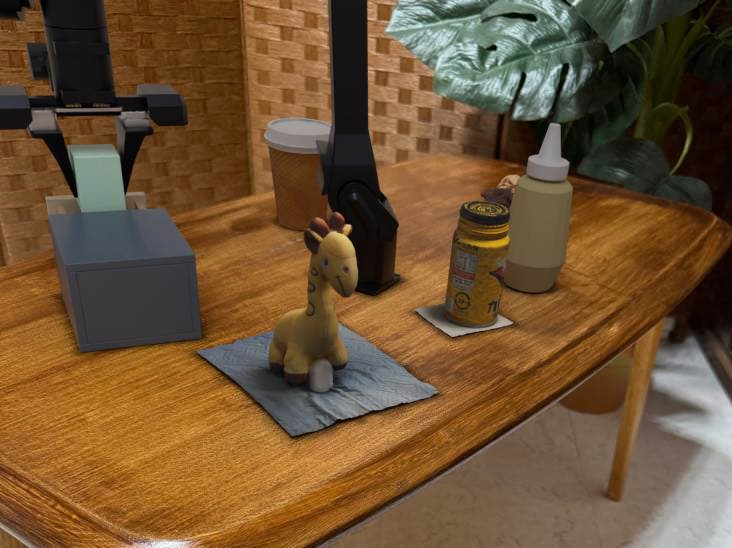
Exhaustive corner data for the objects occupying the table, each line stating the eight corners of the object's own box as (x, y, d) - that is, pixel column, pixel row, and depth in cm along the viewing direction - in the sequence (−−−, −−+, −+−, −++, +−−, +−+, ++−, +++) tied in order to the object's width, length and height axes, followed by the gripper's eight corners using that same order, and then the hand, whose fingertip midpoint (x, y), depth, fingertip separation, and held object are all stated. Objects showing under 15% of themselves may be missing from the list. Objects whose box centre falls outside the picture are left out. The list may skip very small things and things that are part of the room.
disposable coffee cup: (350, 222, 115) (354, 127, 108) (307, 240, 109) (308, 140, 101) (295, 206, 119) (295, 113, 111) (251, 222, 112) (247, 124, 105)
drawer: (51, 243, 99) (40, 183, 95) (142, 237, 103) (135, 178, 98) (71, 302, 87) (60, 236, 83) (173, 292, 91) (167, 229, 87)
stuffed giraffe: (291, 437, 71) (293, 246, 62) (196, 357, 82) (186, 185, 73) (438, 398, 80) (459, 226, 71) (333, 330, 91) (340, 173, 82)
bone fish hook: (537, 239, 117) (552, 200, 131) (544, 205, 114) (559, 168, 128) (472, 226, 119) (494, 188, 132) (477, 192, 116) (499, 157, 129)
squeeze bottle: (573, 287, 103) (606, 128, 92) (534, 303, 99) (564, 138, 87) (520, 267, 107) (546, 112, 96) (481, 281, 103) (503, 120, 91)
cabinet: (62, 296, 90) (47, 214, 85) (171, 286, 94) (164, 207, 89) (80, 352, 81) (65, 264, 75) (201, 338, 85) (195, 254, 79)
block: (118, 197, 92) (112, 143, 89) (126, 210, 89) (119, 155, 86) (75, 199, 91) (67, 144, 87) (82, 213, 88) (73, 157, 84)
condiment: (513, 324, 93) (532, 214, 86) (452, 338, 89) (466, 224, 82) (474, 299, 98) (488, 193, 91) (413, 312, 94) (423, 201, 87)
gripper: (158, 13, 89) (171, 169, 98) (-38, 8, 82) (-2, 176, 91) (182, 32, 81) (194, 200, 91) (-32, 28, 74) (7, 210, 84)
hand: (99, 195), depth 89 cm, fingers closed on block, 4 cm apart
